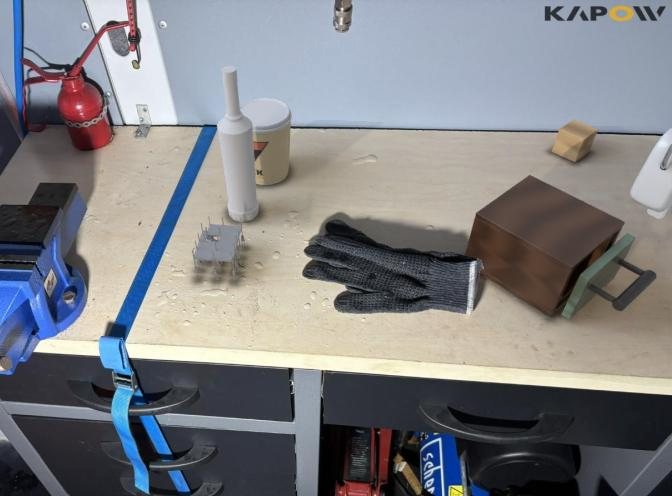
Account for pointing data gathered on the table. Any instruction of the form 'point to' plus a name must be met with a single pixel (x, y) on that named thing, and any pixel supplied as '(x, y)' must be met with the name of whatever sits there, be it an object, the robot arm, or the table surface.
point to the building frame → (219, 245)
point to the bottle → (237, 152)
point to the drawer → (604, 277)
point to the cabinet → (538, 240)
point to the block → (574, 140)
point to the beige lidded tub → (269, 138)
